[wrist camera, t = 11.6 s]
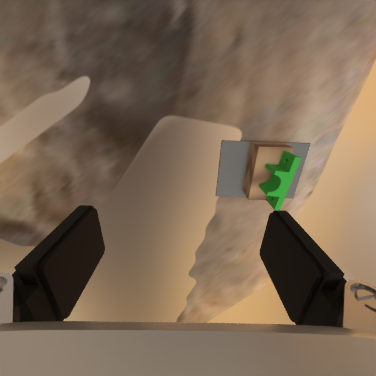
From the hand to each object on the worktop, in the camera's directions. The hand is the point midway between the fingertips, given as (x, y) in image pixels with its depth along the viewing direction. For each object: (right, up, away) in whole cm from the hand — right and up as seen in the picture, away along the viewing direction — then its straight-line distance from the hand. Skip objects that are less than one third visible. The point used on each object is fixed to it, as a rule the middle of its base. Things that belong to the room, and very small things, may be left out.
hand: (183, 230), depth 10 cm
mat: (+18, +6, +34) cm, 39 cm away
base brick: (+18, +7, +33) cm, 38 cm away
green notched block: (+18, +5, +29) cm, 34 cm away
